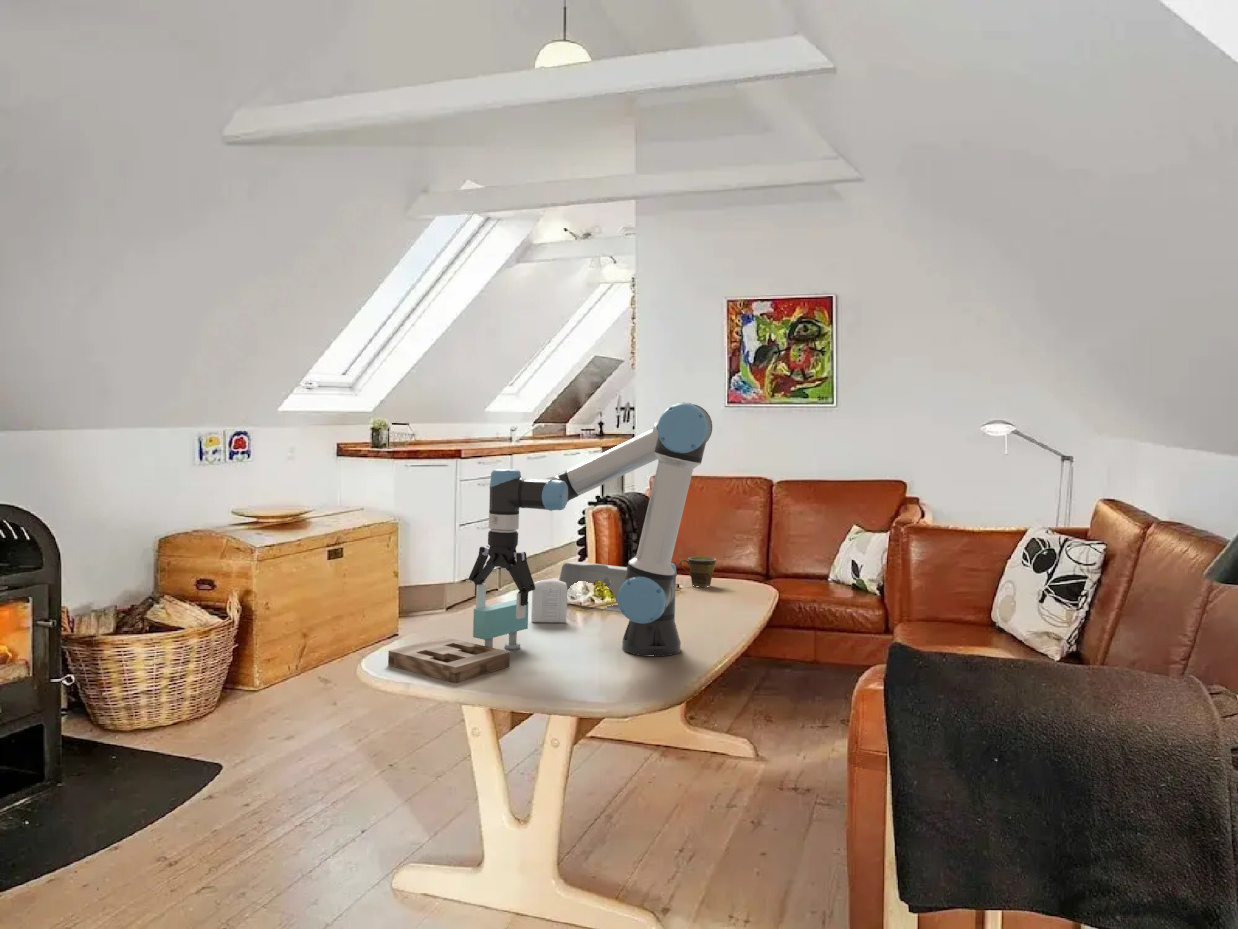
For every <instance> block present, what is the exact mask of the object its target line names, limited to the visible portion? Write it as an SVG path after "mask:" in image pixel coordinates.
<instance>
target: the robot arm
mask: <svg viewBox="0 0 1238 929" xmlns="http://www.w3.org/2000/svg"><path fill="white" fill-rule="evenodd" d="M712 421H713V420H712V418H711V416H710V414H709V412H708V411H706V409H704V408H703V407H702V406H700V405H698V404H694V403H690V402H678V403H674V404H672V405H670V406H669V407H667V408H666V409H665V410H664V411H663V412H662V414H661V416H660V417H659V420H658V421H657V422H655V423H654V425H653V428H652V429H650V430H648V431H645V432H643V433H641V434H639V435H637V436H635V437H633V438H631V439H629V440H627V441H625V442H622V443H621V444H618V445H616V446H614V447H612V448H610V449H608V450H606V451H604V452H602V453H600V454H598V455H596V456H592V457H591V458H589V459H587V460H584V461H583V462H580V463H579V464H576V465H574V466H573V467H571V468H568V469H566V470H564V471H562V472H560V473H557V474H555V475H553V476H551V477H547V478H526V477H525V478H524V477H522V475H521V471H520V470H519V469H512V468H496V469H493V470H492V471H491V473H490V482H489V505H488V506H489V508H488V510H489V511H488V529H490V530H489V531H488V532H487V533H488V534H487V545H486V546H485V545H484V546H480V547H479V551H478V554H477V558H476V560H475V562H474V565H473V567H472V569H471V572H470V573H469V576H468V581H470V582H473V583H474V596H475V609H477V608H481V607H486V602H487V600H486V599H487V597H486V596H487V583H486V580H487V578H488V577H489V576H490V574H491V573H492V572H493V570H495V568H499V567H500V568H503V569H505V570H506V571H507V572H508V573H509V575H510V576H511V578H512V580H513V582H514V584H515V586H516V588H517V590H518V591H517V592H516V600H517V602H516V619H521V618H525V612H526V605H527V604H528V605H529V593H530V592H532V591H533V590H535V585H534V582H535V581H534V579H533V576H532V574H531V570H530V567H529V565H528V561H527V559H528V558H527V552H526V551H520V552H517V547H518V545H519V532H518V531H517V530H519V525H520V524H519V523H520V509H532V510H533V509H535V510H546V511H549V512H550V511H551V512H552V511H562V510H565V508H566V506H567V504H568V502H569V501H571V500H574V499H575V498H577V497H579V496H581V495H584V494H586V493H587V492H590V491H592V490H595V489H596V488H598V487H600V486H603V485H605V484H606V483H609V482H612V481H613V480H616V479H618V478H620V477H622V476H624V475H626V474H628V473H631V472H634V471H635V470H637V469H640V468H642V467H644V466H646V465H648V464H650V463H652V462H654V461H656V460H657V461H658V463H657V467H656V469H655V470H656V471H655V475H654V478H653V479H654V480H653V484H652V488H651V492H650V496H649V500H648V505H647V508H646V509H647V510H646V513H645V518H644V522H643V526H642V530H641V534H640V537H639V544H638V548H637V551H636V555H635V556H634V557H631V559H630V560H628V562H627V566H626V567H627V570H626V574H625V578H624V583H623V584H622V585H621V587H620V589H619V592H618V605H619V608H620V610H621V612H620V613H622V615H623V616H624V617H625V618H626V619H628V624H627V627H626V628H625V632H624V635H623V637H622V645H621V646H622V647H621V648H622V650H623V651H624V650H625V651H624V652H626V651H628V652H627V653H629V652H630V653H629V654H632V653H634V654H633V655H636V654H639V655H638V656H643V655H654V656H653V657H663V656H662V655H668V656H671V655H670V654H673V655H676V654H679V653H680V652H681V643H682V642H681V640H680V636H679V632H678V629H677V628H678V627H677V625H676V621H675V618H676V616H675V615H676V614H675V613H676V588H677V587H676V586H677V585H676V583H677V575H678V574H677V566H676V565H675V563H673V562H672V559H673V555H674V551H675V546H676V543H677V539H678V538H677V537H678V534H679V530H680V526H681V523H682V517H683V513H684V509H685V505H686V500H687V496H688V492H689V488H690V484H691V479H692V475H693V472H694V469H696V468H697V467H698V466H700V465H701V464H702V461H703V456H704V453H705V449H706V445H707V443H708V442H709V441H710V438H711V435H712V433H713V422H712ZM679 651H680V652H679ZM675 653H676V654H675Z"/></svg>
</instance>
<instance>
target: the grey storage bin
mask: <svg viewBox="0 0 1238 929" xmlns="http://www.w3.org/2000/svg"><path fill="white" fill-rule="evenodd" d="M626 570H627V566H618V565H610V564H609V565H608V564H600V563H591V562H583V561H575V560H574V561H569V562H565V563H563V564H562V566H561V569H560V574H559V579H558V580H559V581H562V582H565V583H566V586H567V590H568V589H569V588H570V586H571V585H573V584H574V583H577V582H578V581H586V582H588V583H594V582H595V581H596V580H599V581H601V582H602V583H607V587H608V588H609V589H610V590H611V591H612V592H613V595H614V596H615V598H616V602H617V603H618V592H619V589H620V587H621V585H622V584H623V583H624V578H625V574H626ZM605 609H606V610H607V611H611V612H612V611H613V612H614V611H615V612H620V613H622V612H621V610H620V608H619V605H613V606H612V605H611V606H607V608H605ZM605 609H604V610H605Z"/></svg>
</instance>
